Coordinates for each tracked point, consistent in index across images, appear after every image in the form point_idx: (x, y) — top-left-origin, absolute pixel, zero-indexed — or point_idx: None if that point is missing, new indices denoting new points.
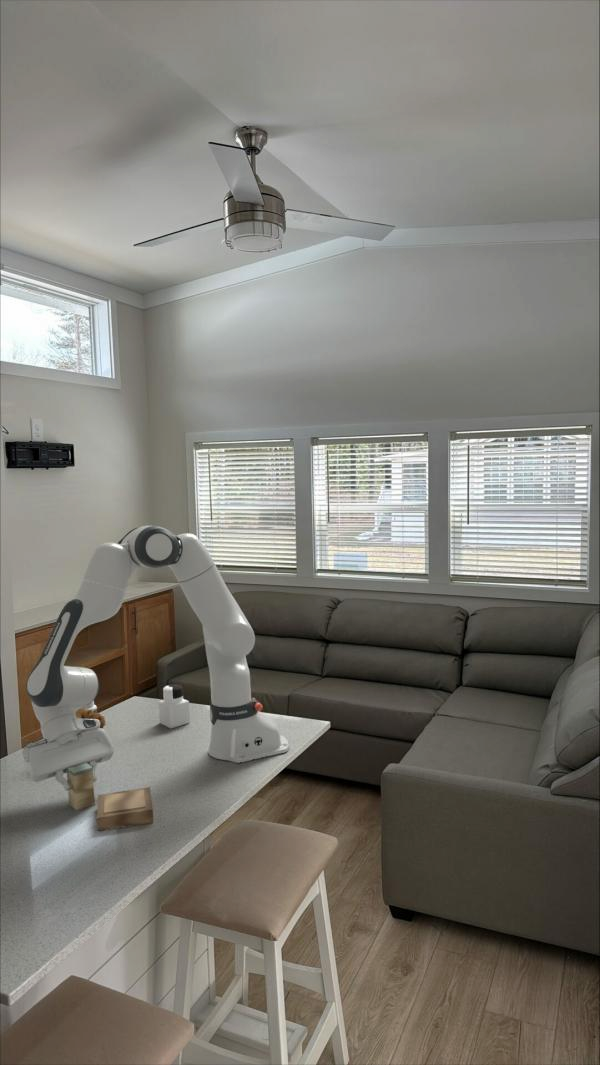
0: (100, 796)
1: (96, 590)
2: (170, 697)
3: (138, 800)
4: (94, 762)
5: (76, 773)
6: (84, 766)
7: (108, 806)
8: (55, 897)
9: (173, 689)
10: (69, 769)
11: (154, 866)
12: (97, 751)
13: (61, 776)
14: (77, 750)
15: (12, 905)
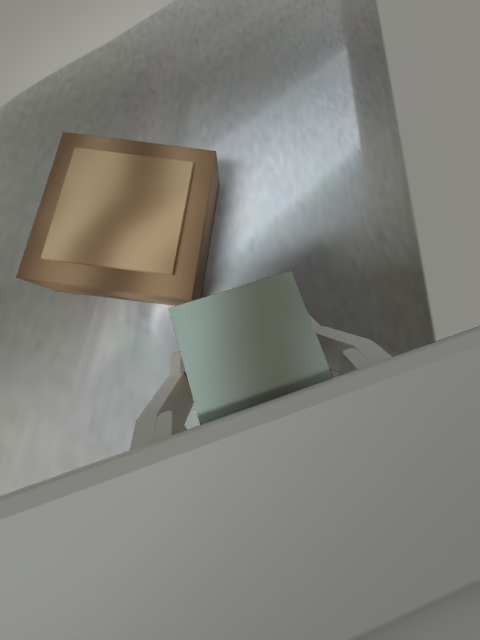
0: (186, 282)
1: None
2: None
3: (81, 190)
4: (142, 435)
5: (273, 279)
6: (217, 351)
7: (174, 192)
8: (309, 14)
9: None
10: (317, 346)
11: (140, 24)
12: (46, 544)
13: (349, 341)
14: (265, 601)
15: (374, 22)
